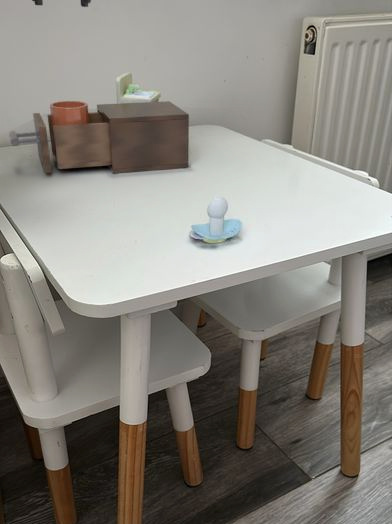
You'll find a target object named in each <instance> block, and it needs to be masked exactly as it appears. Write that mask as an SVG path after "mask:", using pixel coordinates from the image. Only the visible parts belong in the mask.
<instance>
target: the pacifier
mask: <svg viewBox="0 0 392 524" xmlns="http://www.w3.org/2000/svg"><path fill="white" fill-rule="evenodd" d="M207 205H208V206H207V208H206V214H207V216H208V217H209V222H208V223H201V224H191V226H190V227H191V230H190V231H189V232H188V236H190V238H193V239H196V240H202V241H203V242H205V243H209V244H218V243H222V242H225V241H226V240H227V239H229V238H232V237H235V236H236V235H237V234H239V233H240V232H241V230H242V227H243V222H242V221H241V219H237V218H229V219H225V215H226V214H227V213H228V209H229V204H228V200H227V199H226V198H225V197H223V196H217V197H215V198H213V199H212V200H211V201H210V202H209V204H207Z"/></svg>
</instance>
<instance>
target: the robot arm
mask: <svg viewBox="0 0 392 524" xmlns="http://www.w3.org/2000/svg"><path fill="white" fill-rule="evenodd" d="M31 1H32V2H34V5H35V6H43V5H44V1H43V0H31ZM91 2H92V0H80V6H81V7H82V8H88V7H89V4H91Z"/></svg>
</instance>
